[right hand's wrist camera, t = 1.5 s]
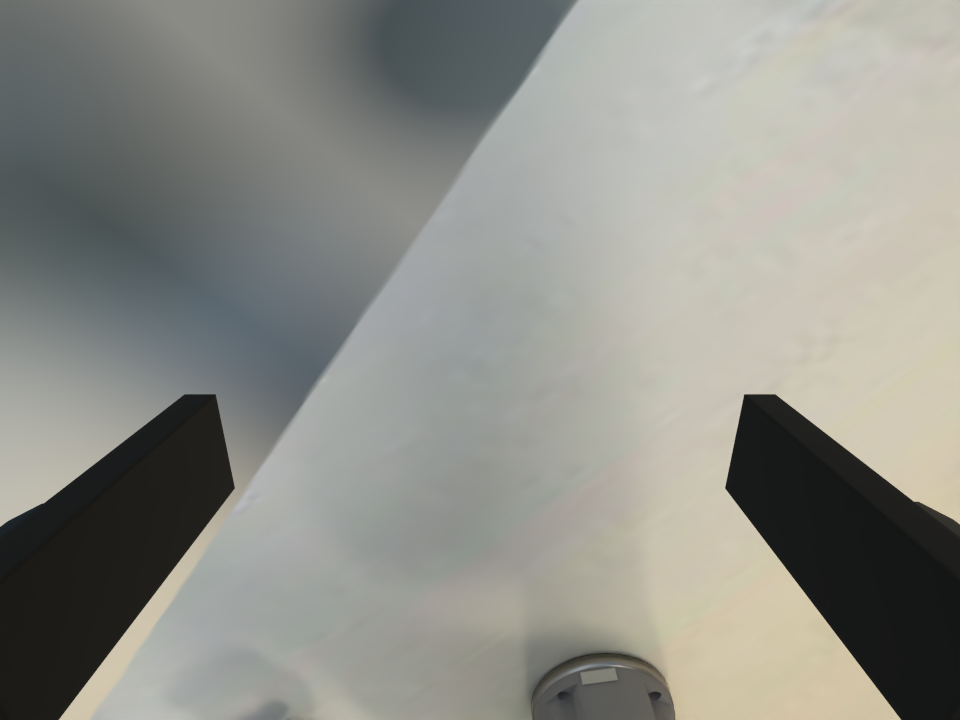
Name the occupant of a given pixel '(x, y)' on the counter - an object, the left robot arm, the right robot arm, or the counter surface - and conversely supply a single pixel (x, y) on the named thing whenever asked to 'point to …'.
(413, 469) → the counter surface
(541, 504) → the counter surface
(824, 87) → the counter surface
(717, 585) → the counter surface
